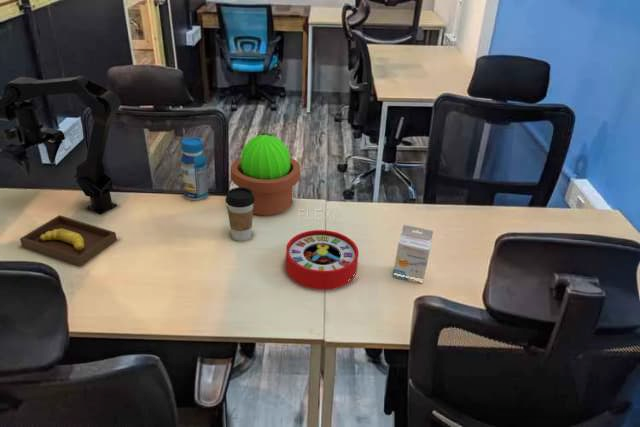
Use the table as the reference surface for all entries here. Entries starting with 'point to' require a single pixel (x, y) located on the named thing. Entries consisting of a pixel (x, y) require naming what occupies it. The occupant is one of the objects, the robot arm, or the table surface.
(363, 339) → the table surface
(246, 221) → the coffee cup
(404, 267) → the ink box
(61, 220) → the tray
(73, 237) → the banana
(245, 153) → the potted cactus
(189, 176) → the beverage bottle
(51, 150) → the robot arm
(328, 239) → the toy clock
